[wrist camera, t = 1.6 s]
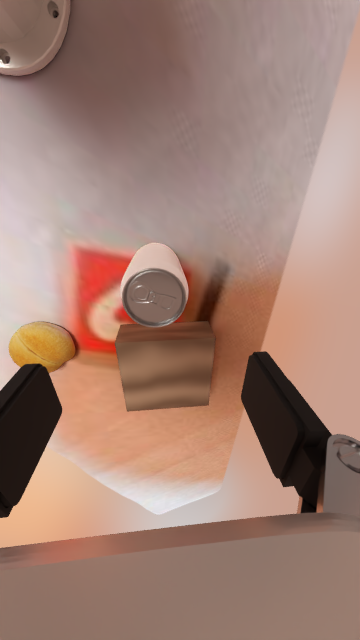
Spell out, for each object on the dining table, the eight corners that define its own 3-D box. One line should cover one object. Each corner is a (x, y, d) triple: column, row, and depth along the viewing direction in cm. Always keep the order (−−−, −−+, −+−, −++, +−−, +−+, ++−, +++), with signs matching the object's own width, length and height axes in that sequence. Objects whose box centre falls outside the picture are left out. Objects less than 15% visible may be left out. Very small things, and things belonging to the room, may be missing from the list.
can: (141, 233, 26) (129, 249, 16) (186, 253, 28) (203, 280, 17) (126, 279, 29) (107, 318, 18) (168, 295, 31) (174, 339, 20)
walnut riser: (120, 324, 32) (114, 342, 28) (208, 321, 33) (215, 338, 29) (130, 388, 39) (126, 411, 34) (203, 383, 40) (208, 405, 36)
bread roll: (87, 343, 34) (78, 359, 30) (50, 370, 35) (38, 388, 32) (43, 308, 30) (27, 321, 26) (5, 340, 32) (-14, 356, 28)
